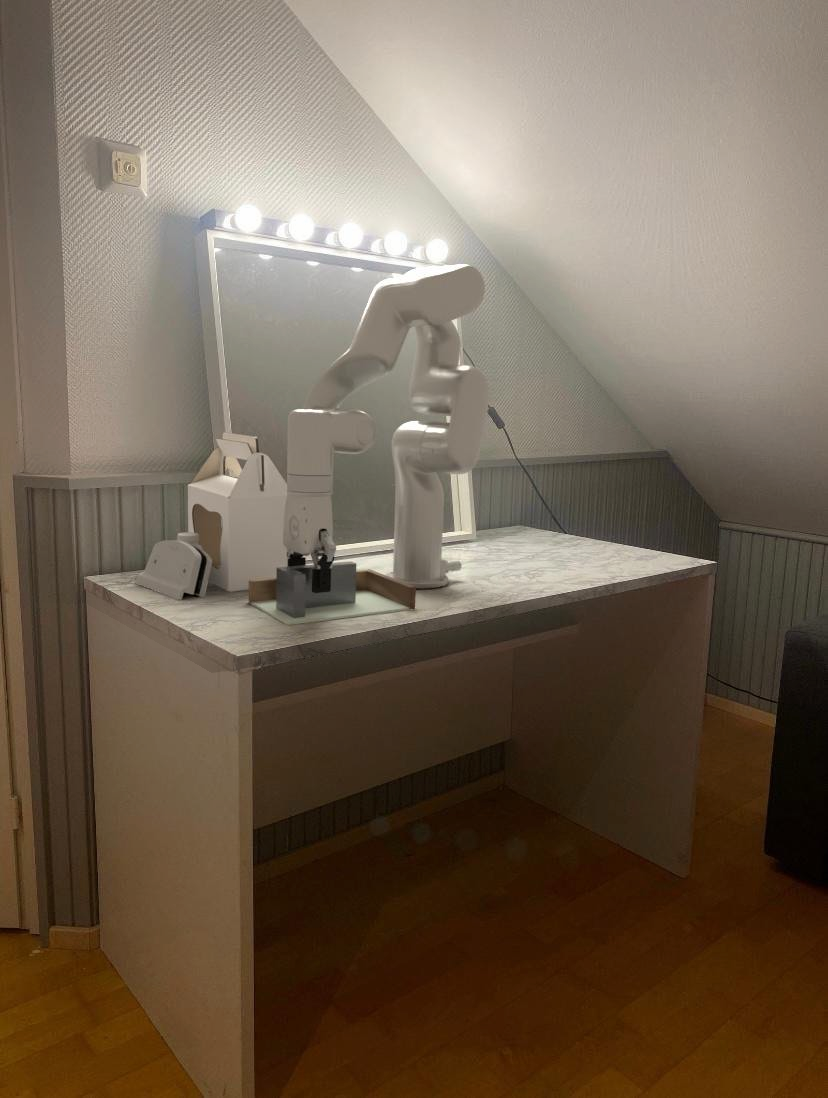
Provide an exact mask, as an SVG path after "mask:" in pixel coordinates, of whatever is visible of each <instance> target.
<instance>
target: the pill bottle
mask: <svg viewBox="0 0 828 1098" xmlns="http://www.w3.org/2000/svg"><path fill="white" fill-rule="evenodd" d="M176 540H177V541H183V542H186V543H190V544H193V545H195V546H196V547H198V548H200V549H202V546H201V545H199V544H198V541H199V534H198V533H192V532H188V531H187V532H179V533H177V538H176ZM202 550H203V549H202Z"/></svg>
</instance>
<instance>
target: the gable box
mask: <svg viewBox="0 0 828 1098" xmlns="http://www.w3.org/2000/svg"><path fill="white" fill-rule="evenodd" d="M215 441H216V442H217V445H218V447H215V448H214V449H213V450H212V451H211V452H210V454H209V456H208V457H206V460H205V461H204V462H203V464H202V465H201V467H200V469H198V471H197V473H196V474H195V476H194V477H193V478H192V480H191V482H190V483H188V484H187V526H188V527H187V532H192V533H198V534H199V541H198V544H199V545H201V546H202V549H203V551H204V552H206V553H207V554H208V555H209V556H210V558H211V559H212V566H211V570H210V575H209V579H208V582H210V583H212V584H214V585H216V586H217V587H219V588H221V589H223V590H225V591H226V592H228V593H231V592H241V591H242V592H245V591H249V580H257V579H268V578H276V570H277V567H287V566H288V558H287V548H286V547H285V546H284V544H283V534H284V516H285V505H286V499H287V481H286V480H285V478H283V476H282V474H281V473H280V472H279V470H278V469H277V467H276V466H275V464H274V462H273V461H272V460H271V458H270V456H268V455H267V454H265V453H263V452H260V450H259V449H260V448H259V439H258V437H257V436H253V435H247V434H241V433H240V434H239V433H233V432H232V433H231V432H223V433H222V438H220V437H215ZM238 459H239V460H245V463H244V466H243V467H241V465H240V463H239V461H238ZM227 468H228V469H231V470H233V471H234V474H235V477H232V476H228V475H225V471H226V470H227ZM220 515H221V516H220ZM221 517H222V520H223V530H222V527H221ZM218 566H220V567H218Z"/></svg>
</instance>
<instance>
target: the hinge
mask: <svg viewBox="0 0 828 1098" xmlns="http://www.w3.org/2000/svg"><path fill="white" fill-rule="evenodd" d="M211 566H212V559H211V558H210V556H209V555H208V554H207V553H206V552H204V551H203V550H202V549H200V548H198V547H196V546H195V545H193V544H190V543H186V542H183V541H178V540H177V539H175V540H174V539H169V540H168V539H165V540H161V541H158V542H156V543H154V545H153V547H152V550H151V552H150V555H149V558H148V560H147V563H146V566H145V568H144V571H142V572H140V573H138V574H137V576H136V578H135V579H136V580H135V582H134V584H135V583H136V584H135V585H137V584H139V585H138V586H140V585H142V586H144V587H143V588H145V587H147V588H146V589H148V588H150V589H153V590H156V591H159V592H161V593H163V594H162V595H164V594H165V596H167V595H168V596H167V597H169V596H170V598H173V599H174V600H177V599H178V601H182V600H183V597H184V593H186V594H189V595H194V596H195V595H196V596H198V597H202V598H204V597H205V596H206V591H207V587H208V583H209V581H208V579H209V575H210V570H211ZM142 586H141V587H142ZM150 589H149V590H150ZM153 590H152V591H153ZM156 591H155V592H156ZM161 593H160V594H161Z"/></svg>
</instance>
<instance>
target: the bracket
mask: <svg viewBox="0 0 828 1098" xmlns="http://www.w3.org/2000/svg"><path fill="white" fill-rule="evenodd" d="M332 564H333V567H332V569H331V590H330V592H323V593H313V592H312V569H315V567H314V564H306V565H301V566H289V567H277V570H276V609H278V610H280V611H282V612H283V613H285V614H287V615H289V616H291V617H292V618H300V617H305V608H314V607H323V606H332V605H340V604H349V603H355V602H356V571H357V563H356V562H353V561H340V562H339V561H337V562H333V563H332Z"/></svg>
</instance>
